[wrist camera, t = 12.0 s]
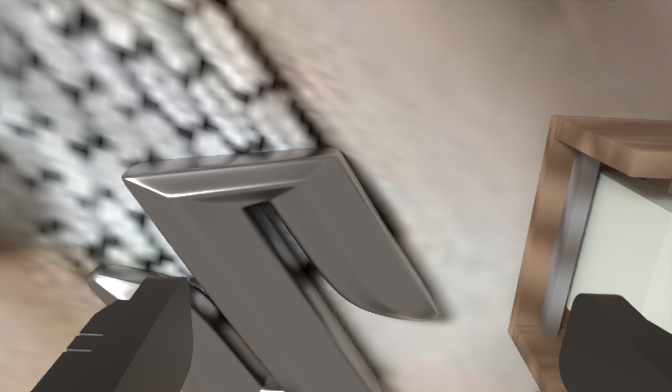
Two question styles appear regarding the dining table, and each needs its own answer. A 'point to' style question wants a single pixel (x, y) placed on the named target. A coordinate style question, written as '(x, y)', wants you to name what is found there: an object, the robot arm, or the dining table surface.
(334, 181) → the emblem
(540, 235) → the cabinet base
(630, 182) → the door panel
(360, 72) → the dining table surface
